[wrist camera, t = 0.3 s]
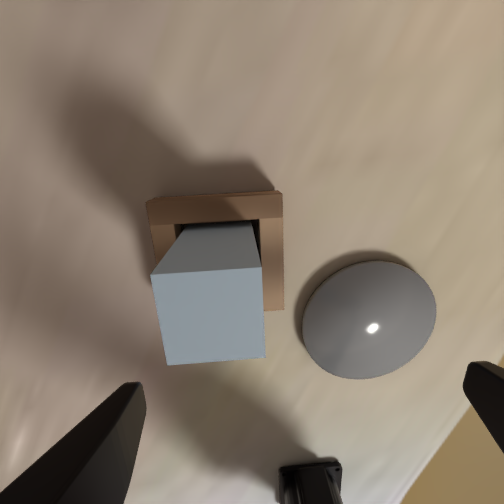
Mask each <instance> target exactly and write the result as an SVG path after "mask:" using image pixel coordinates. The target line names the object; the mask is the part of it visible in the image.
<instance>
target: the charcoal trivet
mask: <svg viewBox="0 0 504 504" xmlns="http://www.w3.org/2000/svg"><path fill="white" fill-rule="evenodd" d="M435 320H436V303H435V298H434V295H433V293H432V291H431V289H430V287H429V285H428V284H427V283H426V282H425V280H424V279H423V278H421V277H420V276H419V275H418V274H417V273H415V272H413V271H412V270H410V269H409V268H407V267H405V266H403V265H400V264H398V263H394V262H390V261H382V260H381V261H365V262H360V263H356V264H353V265H350V266H348V267H345V268H343V269H341V270H339V271H338V272H336V273H334V274H333V275H331V276H330V277H329V278H327V279H326V280H325V281H324V282H323V283H322V284H321V285H320V286H319V287H318V288H317V289H316V290H315V292H314V293H313V295H312V296H311V298H310V299H309V301H308V303H307V305H306V308H305V310H304V314H303V318H302V336H303V340H304V343H305V346H306V348H307V351H308V353H309V354H310V356H311V358H312V359H313V360H314V361H315V363H316V364H317V365H319V366H320V367H321V368H322V369H324V370H325V371H327V372H329V373H331V374H333V375H335V376H339V377H342V378H347V379H369V378H375V377H379V376H382V375H385V374H388V373H390V372H393V371H395V370H397V369H398V368H400V367H402V366H403V365H405V364H406V363H408V362H409V361H410V360H411V359H413V358H414V357H415V356H416V355H417V354H418V353H419V352H420V351H421V349H422V348H423V347H424V345H425V344H426V343H427V341H428V339H429V337H430V335H431V333H432V331H433V328H434V324H435Z"/></svg>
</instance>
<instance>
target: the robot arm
mask: <svg viewBox="0 0 504 504" xmlns="http://www.w3.org/2000/svg"><path fill="white" fill-rule="evenodd" d="M463 390H464V393H465V395H466V397H467V398H468V400H469V401H470V403H471V404H472V406H473V407H474V409H475V410H476V412H477V413H478V415H479V417H480V418H481V420H482V421H483V423H484V424H485V426H486V427H487V429H488V430H489V432H490V433H491V435H492V436H493V438H494V440H495V441H496V443H497V444H498V446H499V447H500V449H501V450H502V452H503V453H504V368H502V367H499V366H497V365H495V364H493V363H490V362H487V361H476V362H471V363H470V364H469V365H468V367H467V371H466V374H465V378H464V381H463ZM145 416H146V401H145V396H144V391H143V386H142V384H141V383H140V382H127V383H124V384H123V385H121V386H120V387H119V388H118V389H117V390H116V391H115V392H113V393H112V394H111V395H110V396H109V397H108V398H107V399H106V400H104V401H103V402H102V403H101V404H100V405H99V406H98V407H97V408H95V409H94V410H93V411H92V412H91V413H90V414H89V415H87V416H86V417H85V418H84V419H83V420H82V421H81V422H80V423H78V424H77V425H76V426H75V427H74V428H73V429H72V430H71V431H69V432H68V433H67V434H66V435H65V436H64V437H63V438H62V439H60V440H59V441H58V442H57V443H56V444H55V445H54V446H52V447H51V448H50V449H49V450H48V451H47V452H46V453H45V454H43V455H42V456H41V457H40V458H39V459H38V460H37V461H36V462H34V463H33V464H32V465H31V466H30V467H29V468H28V469H26V470H25V471H24V472H23V473H22V474H21V475H20V476H19V477H17V478H16V479H15V480H14V481H13V482H12V483H11V484H10V485H8V486H7V487H6V488H5V489H4V490H3V491H2V492H0V504H123V503H124V500H125V497H126V494H127V491H128V488H129V484H130V481H131V477H132V473H133V469H134V464H135V460H136V456H137V451H138V447H139V443H140V438H141V434H142V429H143V425H144V421H145ZM341 479H342V466H341V464H340V463H339V462H333V463H322V464H311V465H300V466H290V467H282V468H280V469H279V490H280V504H343V502H342V499H341V496H340V491H341Z"/></svg>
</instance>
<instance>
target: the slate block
mask: <svg viewBox="0 0 504 504" xmlns="http://www.w3.org/2000/svg"><path fill="white" fill-rule="evenodd" d="M150 277H151V282H152V287H153V293H154V298H155V303H156V308H157V314H158V319H159V324H160V330H161V335H162V340H163V345H164V351H165V356H166V361H167V365H179V364H192V363H204V362H217V361H229V360H242V359H254V358H266V355H265V332H264V309H263V287H262V267H261V262H260V258H259V254H258V249H257V245H256V241H255V236H254V232H253V228H252V224H251V220H248V221H232V222H216V223H200V224H188V225H187V226H186V227H185V229H184V230H183V231H182V233H181V234H180V236H179V237H178V238H177V240H176V241H175V242H174V244H173V245H172V246H171V248H170V249H169V250H168V252H167V253H166V254H165V256H164V257H163V258H162V260H161V261H160V262H159V264H158V265H157V266H156V268H155V269H154V270H153V272H152V273H151V274H150Z"/></svg>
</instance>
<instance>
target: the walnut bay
mask: <svg viewBox="0 0 504 504" xmlns="http://www.w3.org/2000/svg"><path fill="white" fill-rule="evenodd" d="M146 207H147V213H148V219H149V224H150V230H151V235H152V241H153V247H154V252H155V258H156V264H157V265H158V264H159V262H160V261H161V260H162V258H163V257H164V256H165V254H166V253H167V252H168V250H169V249H170V248H171V246H172V245H173V244H174V242H175V241H176V240H177V238H178V237H179V236H180V234H181V233H182V230H181V224H186V223H202V222H218V221H234V220H250V219H258V237H259V258H260V262H261V267H262V287H263V309H264V311H274V310H284V264H283V201H282V193H281V192H279V191H278V190H277V191H260V192H243V193H226V194H210V195H193V196H176V197H159V198H153V199H151V200H149V201H147V202H146Z"/></svg>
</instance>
